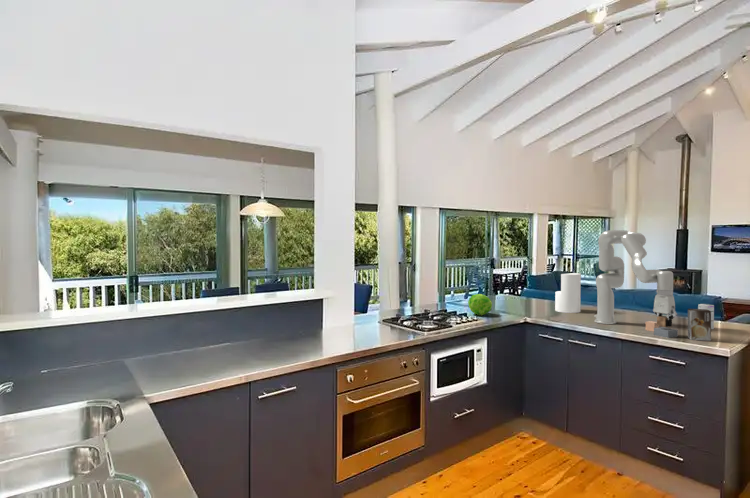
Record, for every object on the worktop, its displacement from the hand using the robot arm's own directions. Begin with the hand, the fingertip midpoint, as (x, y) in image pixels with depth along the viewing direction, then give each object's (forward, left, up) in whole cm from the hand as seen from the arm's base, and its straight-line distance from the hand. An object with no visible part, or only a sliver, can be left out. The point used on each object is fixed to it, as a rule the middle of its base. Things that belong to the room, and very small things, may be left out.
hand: (664, 325), depth 248 cm
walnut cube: (0, 0, -1) cm, 1 cm away
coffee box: (+12, +10, -6) cm, 17 cm away
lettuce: (-88, -68, -6) cm, 111 cm away
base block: (+1, 0, -6) cm, 6 cm away
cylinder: (-85, +2, -6) cm, 85 cm away
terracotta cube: (-13, +5, -6) cm, 15 cm away
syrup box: (-9, +40, -6) cm, 41 cm away
